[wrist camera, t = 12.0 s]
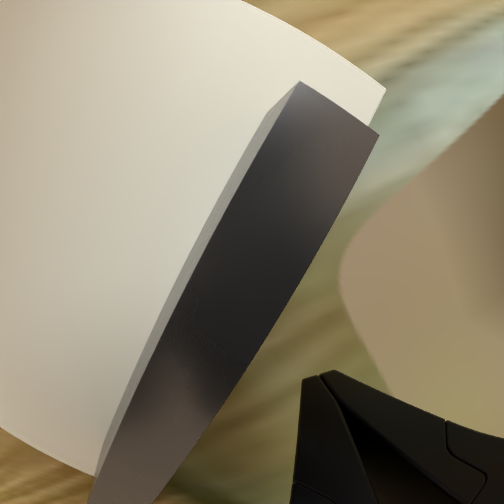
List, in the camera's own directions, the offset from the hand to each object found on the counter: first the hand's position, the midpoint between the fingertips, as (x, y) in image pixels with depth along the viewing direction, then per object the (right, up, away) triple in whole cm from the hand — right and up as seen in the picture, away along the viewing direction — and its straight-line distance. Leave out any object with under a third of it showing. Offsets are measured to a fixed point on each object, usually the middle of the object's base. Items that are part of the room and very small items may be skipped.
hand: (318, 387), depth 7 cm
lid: (-9, +5, -1) cm, 10 cm away
